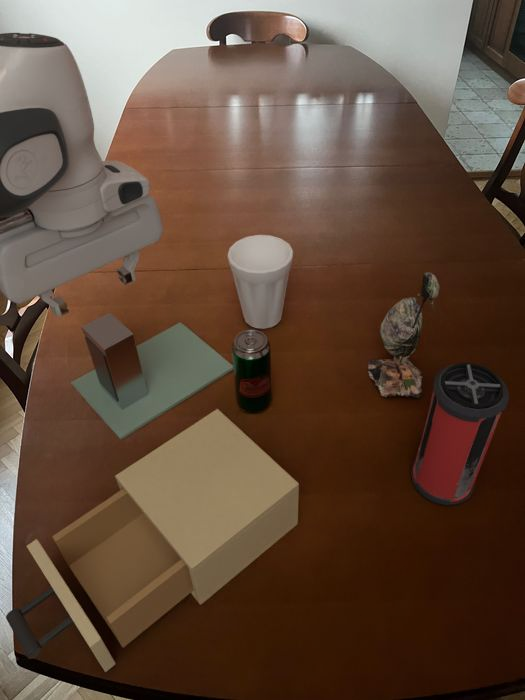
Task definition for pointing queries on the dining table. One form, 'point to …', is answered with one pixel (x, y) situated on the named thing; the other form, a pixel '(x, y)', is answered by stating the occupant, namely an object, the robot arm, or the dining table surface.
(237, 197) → the dining table surface
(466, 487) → the speaker
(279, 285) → the cup
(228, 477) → the cabinet
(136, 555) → the drawer
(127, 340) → the brushed metal box
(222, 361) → the mat
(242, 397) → the soda can
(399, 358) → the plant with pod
